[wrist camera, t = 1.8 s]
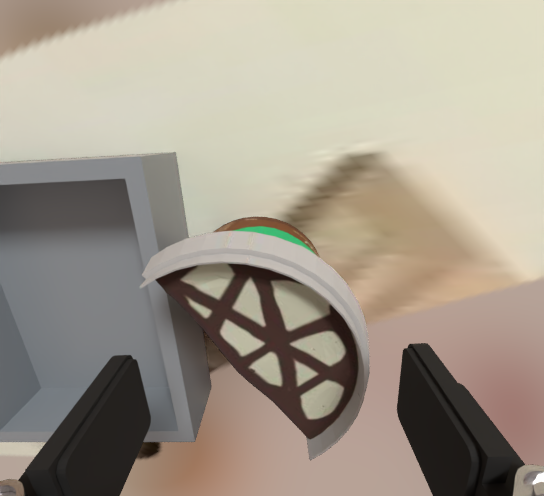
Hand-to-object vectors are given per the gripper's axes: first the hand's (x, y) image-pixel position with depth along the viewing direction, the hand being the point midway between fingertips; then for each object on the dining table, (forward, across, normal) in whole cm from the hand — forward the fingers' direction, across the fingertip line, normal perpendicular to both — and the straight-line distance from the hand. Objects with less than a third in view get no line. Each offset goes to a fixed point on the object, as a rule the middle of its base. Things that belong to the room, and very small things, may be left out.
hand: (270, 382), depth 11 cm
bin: (+12, +13, +2) cm, 18 cm away
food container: (+12, -1, 0) cm, 12 cm away
